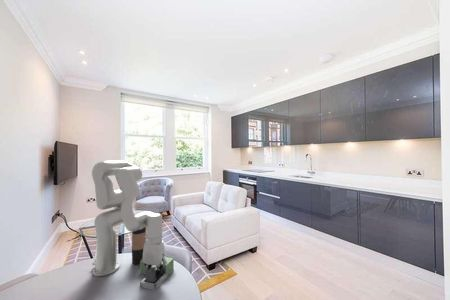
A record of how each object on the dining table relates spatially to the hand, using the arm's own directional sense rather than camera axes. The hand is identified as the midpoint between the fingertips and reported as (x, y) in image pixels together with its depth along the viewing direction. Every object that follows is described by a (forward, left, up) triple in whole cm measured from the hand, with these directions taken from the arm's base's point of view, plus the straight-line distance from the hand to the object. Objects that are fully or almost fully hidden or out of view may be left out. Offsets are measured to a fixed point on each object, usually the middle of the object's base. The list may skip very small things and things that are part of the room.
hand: (154, 276), depth 93 cm
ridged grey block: (0, 0, 0) cm, 0 cm away
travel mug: (-20, +13, -3) cm, 24 cm away
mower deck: (-4, +3, -2) cm, 5 cm away
